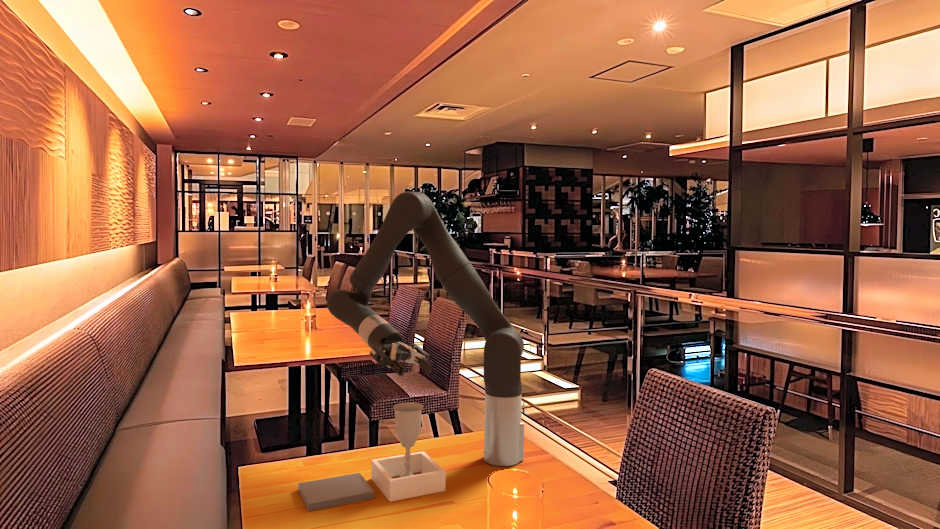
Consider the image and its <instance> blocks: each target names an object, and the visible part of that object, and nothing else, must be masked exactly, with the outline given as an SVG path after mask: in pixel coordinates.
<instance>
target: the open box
mask: <svg viewBox="0 0 940 529" xmlns="http://www.w3.org/2000/svg"><path fill="white" fill-rule="evenodd" d="M405 454H406V453H405ZM405 454H399V455H393V456H388V457H387V456H386V457H382V458H381V457H380V458H375V459H374V458H373V459H371V472H370V477H371V478H370V479H371V481H372V482H373V483H374V484H375V485H376V486H377V488H378V489H379V490H380V491H381V493H382V495H383V496H385V498H386V499H387V500H388V501H389V502H395V501H401V500H405V499H411V498H416V497H421V496H426V495H431V494H437V493H441V492H445V491H446V485H447V484H446V480H447V479H446V477H447V476H446V475H447V474H446V473H447V472H446V470H445V469H444V468H443V467H442V466H441V465H440V464H438V463H437V462H436V461H435V460H434V459H433V458H432V457H431V456H429V455H428V454H427V452H425V451H423V450H422V451H417V452H410V454H411V457H410V462H411V463H412V464H411V465H410V472H411V473H413V474H414V475H410V476H405V477H400V476H401V474H403V473H404V472H405V471H406V467H405V465H404V463H405V462H406V458H405ZM415 473H417V474H415ZM394 477H396V478H394Z"/></svg>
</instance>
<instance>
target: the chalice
mask: <svg viewBox="0 0 940 529" xmlns="http://www.w3.org/2000/svg"><path fill="white" fill-rule="evenodd" d="M392 408H393V410H394V413H395V414H394V430H395V434H396V435H397V438H398V440H399V442H400V444H401V447H403V448H404V449H405V458H406V462H405V463H404V465H405V467H406V471H405V472H404V473H403V474H401V475H400V476H399V477H405V476H410V475H415V473H411V472H410V465H411V464H412V463H411V462H410V457H411V454H410V453H411V448H412V447H414V446H415V445H416V442H417V439H419V435H420V432H421V429H422V411H423V409H424V405H423V404H422V403H419V402H411V401H410V402H409V401H407V402H400V403H397V404H395V405H393V407H392Z"/></svg>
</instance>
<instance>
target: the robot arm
mask: <svg viewBox="0 0 940 529" xmlns="http://www.w3.org/2000/svg"><path fill="white" fill-rule="evenodd" d="M411 230H413V231H414V232H415V234H416V235H417V236H418V237H419V239H420V241H421V242H422V243H423V245H424V246H425V248H426V251H427V254H428V255H429V258H430V263H431V266H432V268H433V271H434V273H435V276H436V278H437V279H438V281H439V283H440V284H441V286H442V287H443V289H444V290H445V292H446V293H447V295H448V297H449V298H450V299H451V300H452V301H453V302H454V304H456V305H457V306H458V308H460V309H461V310H462V311H463V312H464V313H465V314H467V316H468V317H469V318H470V319H471V320H472V321H473V323H474V324H475V325H476V327H477V328H478V330H479V331H480V333H481V335H482V336H483V339H484V341H485V343H484V348H483V383H484V429H483V430H484V432H483V433H484V434H483V435H484V436H483V437H484V438H483V440H484V441H483V446H484V447H483V461H484V462H485V463H487V464H489V465H492V466H497V467H499V466H500V467H509V466H514V465H517V464H519V463H520V462H522V461H523V462H524V460H525V459H524V453H525V451H524V450H525V448H524V447H525V446H524V445H525V423H524V422H523V421H522V400H523V399H522V394H523V392H522V391H523V389H522V388H523V385H522V384H523V383H522V377H521V375H522V374H521V372H522V370H521V366H522V365H521V364H522V362H521V361H522V355H523V354H524V353H523V352H524V348H525V344H524V340H523V337H522V335H521V334H520V333H519V331H518V330H517V329H516V328H515V326H513V324H512V323H511V322H510V320H509V319H508V318H507V317H506V316H505V314H504V313H503V312H502V311H501V309H500V308H499V307H498V305H497V303H496V302H495V300H494V298H493V297H492V295H491V293H490V291H489V290H488V289H487V287H486V285H485V283H484V281H483V280H482V278H481V277H480V275H479V274H478V272H477V270H476V269H475V267H474V266H473V264H472V263H471V261H470V260H469V259H468V258H467V256H466V255H465V253H464V251H463V250H462V249H461V248H460V246H459V245H458V243H457V242H456V240H455V239H454V238H453V237H452V235H451V234H450V233H449V231H448V230H447V228H446V226H445V225H444V222H443V220H442V218H441V217H440V215H439V213H438V211H437V209H436V207H435V205H434V204H433V201H432V200H431V199H430V198H429V196H427V195H426V194H425V193H422V192H420V191H404V192H401V193H399V194H398V195H396V196H395V197H394V199H393V201H392V202H391V204H390V206H389V208H388V211H387V213H386V215H385V217H384V220H383V222H382V223H381V225H380V228H379V229H378V232H377V234H376V235H375V237H374V238H373V241H372V242H371V244H370V246H369V247H368V249H367V250H366V252H365V253H364V254H363V256H362V258H361V259H360V260H359V262H358V263H357V265H356V266H355V268H354V269H353V270H352V273H351V274H350V276H349V283H350V284H351V285H352V287H354V288H355V290H353V291H350V290H346V289H340V288H339V289H334V290H332V291H331V292H330V293H329V295H327V298H326V305H327V306H326V307H327V309H328V311H329V313H330V314H331V315H332V316H333V317H334V318H336V319H337V320H339V321H341V322H342V323H343V324H346V325H347V326H349V327H350V328H352V329H353V331H354V332H355V333H356V334H357V335H358V336H359V337H361V339H362V340H363V342H364V343H365V344H366V345H367V346H368V347H369V348H370V351H369V355H370V357H372V359H374V362H376V363H377V364H378V365H379V366H380V367H382V368H384V367H385V366H386V367H387V368H389V369H392V371H393V372H395V373H396V374H397V375H398V376H399V377H402V376H404V374H405V372H406V367H405V366H404V365H403V364H402V363H401V362H405V363H408V364H409V365H412V364H415V365H416V366H418V367H419V368H421V370H422V371H424V372H425V373H426V374H427V375H430V374H431V373H432V370H433V365H432V364H431V363H430V362H429V361H428V358H430V354H428V352H426V351H425V350H424V349H423V348H422V347H420V346H419V345H418V344H417V343H415V342H414V343H412V344H411V345H408V344H406V343H404V342H403V338H402V334H401V333H400V332H399V331H398V330H397V329H396V328H394V327H393V326H392V325H391V324H390V323H389V322H388V321H387V320H386V319H384V318H383V317H381V316H380V315H379V314H378V313H376V311H374V309H372V308H370V307H369V306H368V305H369V303H370V299H371V296H372V294H373V291H374V288H375V287H376V286H377V284H378V283H379V281H380V280H381V279H382V277H383V276H384V274H385V273H386V271H387V269H388V268H389V265H390V263H391V260H392V257H393V256H394V253H395V250H396V249H397V247H398V245H399V244H400V243H401V241H402V240H403V239H404V237H405V236H406V235H407V234H408V233H409V232H411ZM409 356H410V358H409Z"/></svg>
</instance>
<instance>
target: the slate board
mask: <svg viewBox="0 0 940 529" xmlns="http://www.w3.org/2000/svg"><path fill="white" fill-rule="evenodd" d="M297 490H298V494H299V495H300V497H301V499H302V500H303V503H304V504H305V507H306V508H307V510H308V512H311V511H316V510H321V509H327V508H331V507H336V506H341V505H342V506H343V505H347V504H351V503H357V502H363V501H367V500H371V499H375V491H374V489H373V488H372V487H371V485H370V484H369V483H368V482H367V480H366V479H365V478H364V477H363V475H362V474H361V472H356V473H351V474H346V475H345V474H344V475H340V476H333V477H327V478H323V479H322V478H321V479H316V480H315V479H314V480H309V481H303V482H299V483H297Z"/></svg>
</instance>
